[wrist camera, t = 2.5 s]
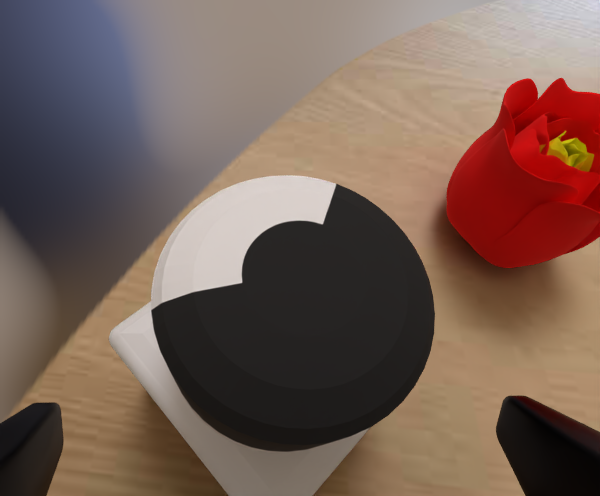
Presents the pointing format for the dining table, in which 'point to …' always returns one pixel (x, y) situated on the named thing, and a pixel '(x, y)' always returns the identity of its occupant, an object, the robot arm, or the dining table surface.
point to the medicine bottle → (281, 330)
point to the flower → (531, 178)
